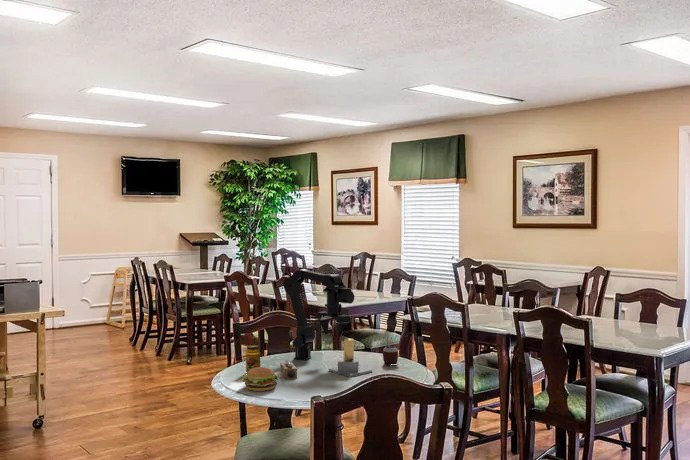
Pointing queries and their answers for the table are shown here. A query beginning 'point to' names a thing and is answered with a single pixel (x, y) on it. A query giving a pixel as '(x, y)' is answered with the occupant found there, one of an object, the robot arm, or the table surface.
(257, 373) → the food
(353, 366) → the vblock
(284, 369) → the beam
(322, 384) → the table surface
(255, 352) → the condiment
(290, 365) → the drift
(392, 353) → the mate gourd
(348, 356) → the tan cylinder
